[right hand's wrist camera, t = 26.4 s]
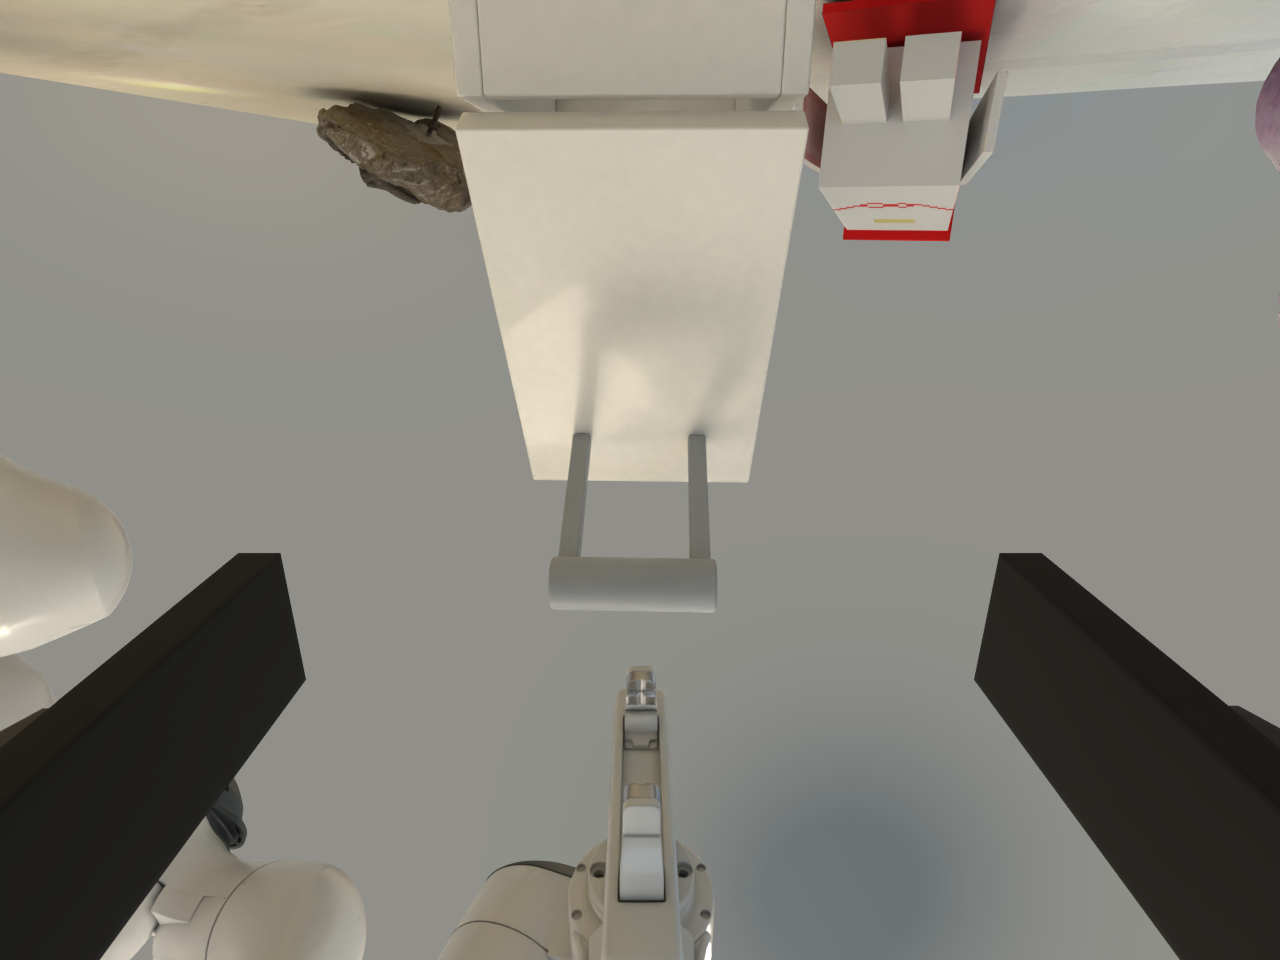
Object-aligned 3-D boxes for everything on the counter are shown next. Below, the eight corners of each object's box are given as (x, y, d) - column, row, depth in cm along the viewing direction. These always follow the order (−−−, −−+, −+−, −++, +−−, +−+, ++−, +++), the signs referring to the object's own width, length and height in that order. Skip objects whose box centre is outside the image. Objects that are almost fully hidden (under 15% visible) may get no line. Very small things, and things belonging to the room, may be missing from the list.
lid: (747, 464, 30) (762, 646, 25) (536, 462, 31) (507, 641, 25) (804, 109, 19) (857, 310, 13) (461, 111, 19) (378, 308, 14)
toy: (999, 172, 35) (964, 244, 63) (1049, -134, 32) (989, 81, 60) (765, 176, 40) (828, 242, 67) (789, -94, 37) (845, 90, 64)
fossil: (275, 139, 67) (397, 241, 69) (309, 45, 63) (440, 157, 64) (401, 137, 86) (495, 217, 88) (435, 65, 81) (534, 151, 83)
